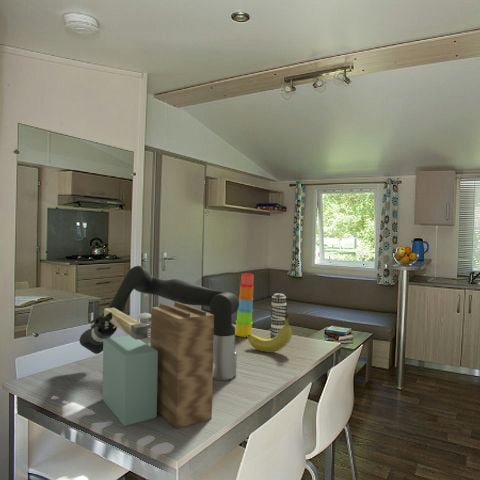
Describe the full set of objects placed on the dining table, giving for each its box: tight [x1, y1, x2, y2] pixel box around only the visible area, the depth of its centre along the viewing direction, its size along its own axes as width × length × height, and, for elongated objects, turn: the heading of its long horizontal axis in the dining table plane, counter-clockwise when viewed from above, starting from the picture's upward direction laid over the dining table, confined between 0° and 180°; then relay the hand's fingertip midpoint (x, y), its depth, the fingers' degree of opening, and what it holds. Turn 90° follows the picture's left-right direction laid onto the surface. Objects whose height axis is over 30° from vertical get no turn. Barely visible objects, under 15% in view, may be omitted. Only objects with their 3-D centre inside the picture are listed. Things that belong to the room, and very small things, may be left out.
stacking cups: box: [235, 273, 255, 338], centre depth 222 cm, size 10×10×35 cm
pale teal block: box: [101, 335, 158, 427], centre depth 127 cm, size 10×22×20 cm, turn 35°
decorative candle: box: [269, 292, 288, 339], centre depth 213 cm, size 9×9×25 cm
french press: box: [136, 293, 151, 346], centre depth 201 cm, size 10×12×25 cm
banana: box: [247, 312, 293, 353], centre depth 191 cm, size 23×6×20 cm, turn 62°
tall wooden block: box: [150, 301, 214, 430], centre depth 126 cm, size 12×20×33 cm, turn 35°
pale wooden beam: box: [103, 307, 148, 340], centre depth 131 cm, size 4×32×4 cm, turn 35°
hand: (117, 314), depth 137 cm, fingers closed on pale wooden beam, 3 cm apart
